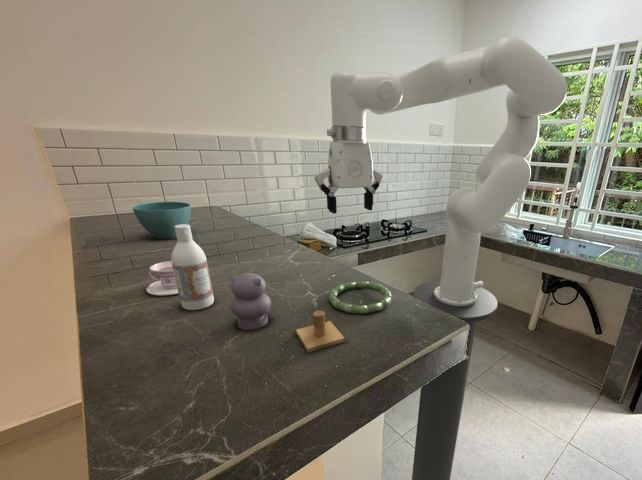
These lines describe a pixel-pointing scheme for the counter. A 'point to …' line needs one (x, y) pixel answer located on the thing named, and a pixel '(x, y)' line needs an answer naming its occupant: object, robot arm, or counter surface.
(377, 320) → the counter surface
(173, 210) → the teal bowl
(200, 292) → the bath foam
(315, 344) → the stand
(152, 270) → the teacup
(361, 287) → the ring
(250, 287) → the cat figurine
